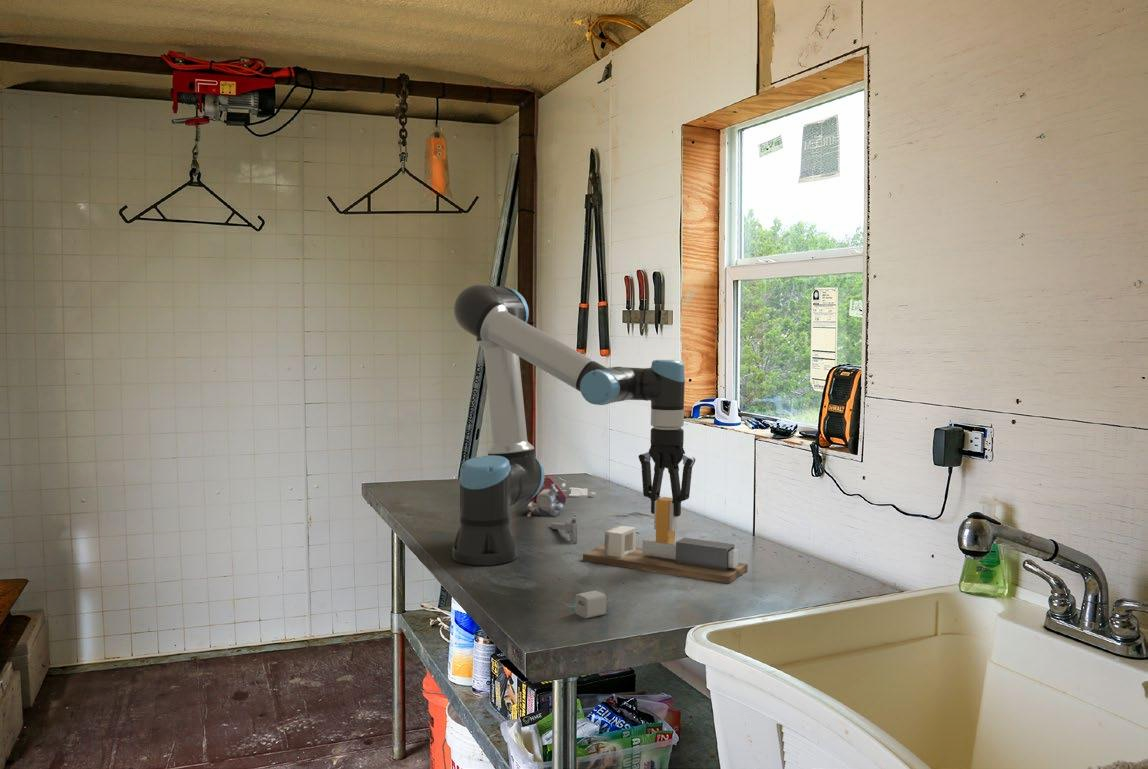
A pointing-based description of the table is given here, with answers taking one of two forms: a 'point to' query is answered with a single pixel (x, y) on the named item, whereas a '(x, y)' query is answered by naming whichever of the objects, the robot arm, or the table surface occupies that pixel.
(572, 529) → the caliper
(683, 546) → the outer sleeve
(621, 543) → the socket block
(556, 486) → the brake caliper
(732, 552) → the stacked block assembly
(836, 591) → the table surface
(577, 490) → the miniature set
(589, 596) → the usb wall charger
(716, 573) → the base board
